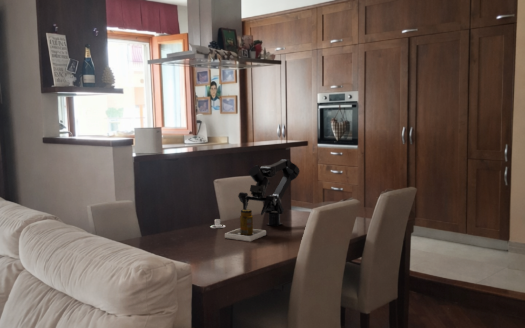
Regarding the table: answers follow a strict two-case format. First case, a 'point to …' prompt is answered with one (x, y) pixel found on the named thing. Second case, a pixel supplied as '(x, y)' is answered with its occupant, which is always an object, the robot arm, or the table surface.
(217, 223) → the white ring with post
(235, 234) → the tray
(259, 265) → the table surface
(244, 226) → the condiment
